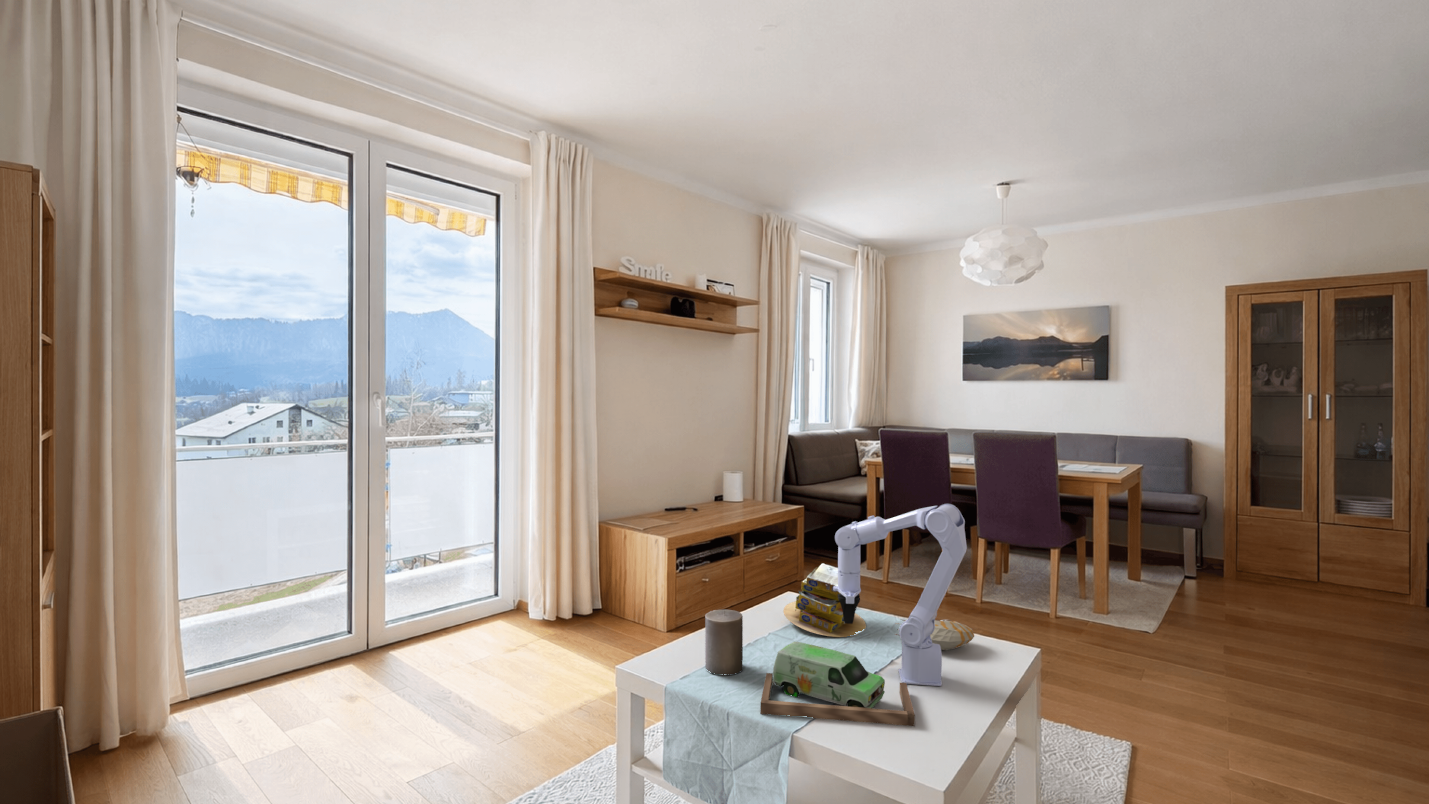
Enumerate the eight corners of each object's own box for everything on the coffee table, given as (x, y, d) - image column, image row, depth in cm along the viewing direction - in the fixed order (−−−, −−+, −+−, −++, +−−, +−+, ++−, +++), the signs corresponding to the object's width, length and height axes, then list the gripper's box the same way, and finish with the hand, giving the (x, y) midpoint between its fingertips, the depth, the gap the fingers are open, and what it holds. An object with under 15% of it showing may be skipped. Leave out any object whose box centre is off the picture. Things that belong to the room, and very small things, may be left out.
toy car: (869, 721, 152) (869, 675, 152) (770, 691, 166) (770, 649, 166) (887, 702, 161) (887, 659, 160) (791, 676, 175) (792, 636, 174)
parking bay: (906, 693, 165) (906, 682, 165) (914, 726, 149) (914, 714, 149) (766, 683, 170) (766, 672, 170) (760, 713, 154) (760, 702, 154)
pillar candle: (750, 667, 179) (750, 609, 179) (725, 679, 172) (725, 618, 172) (722, 658, 186) (722, 601, 185) (696, 669, 178) (696, 610, 178)
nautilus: (885, 646, 196) (906, 633, 208) (963, 660, 183) (980, 646, 195) (885, 617, 196) (906, 606, 208) (962, 629, 183) (980, 617, 195)
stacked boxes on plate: (881, 623, 213) (882, 569, 212) (836, 645, 195) (836, 586, 194) (814, 605, 230) (815, 554, 229) (766, 623, 212) (767, 569, 211)
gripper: (832, 563, 190) (832, 612, 191) (834, 578, 176) (833, 631, 176) (859, 564, 189) (858, 614, 190) (862, 579, 175) (862, 633, 175)
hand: (848, 622), depth 183 cm, fingers closed
